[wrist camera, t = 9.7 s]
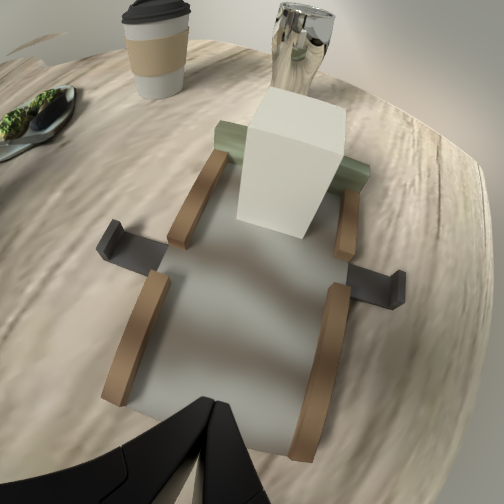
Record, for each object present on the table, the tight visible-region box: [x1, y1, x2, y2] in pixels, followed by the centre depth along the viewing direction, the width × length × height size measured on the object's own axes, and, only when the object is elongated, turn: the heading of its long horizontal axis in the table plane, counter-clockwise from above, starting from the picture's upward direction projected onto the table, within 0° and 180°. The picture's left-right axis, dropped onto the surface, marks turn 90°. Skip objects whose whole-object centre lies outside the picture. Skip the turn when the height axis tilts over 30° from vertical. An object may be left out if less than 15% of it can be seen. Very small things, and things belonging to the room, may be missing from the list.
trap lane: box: [96, 120, 406, 463], centre depth 21 cm, size 26×26×5 cm
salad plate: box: [0, 85, 76, 162], centre depth 28 cm, size 19×18×5 cm
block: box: [236, 86, 346, 239], centre depth 22 cm, size 6×6×10 cm
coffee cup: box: [122, 0, 191, 100], centre depth 28 cm, size 9×9×15 cm
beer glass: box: [268, 2, 335, 96], centre depth 29 cm, size 7×7×15 cm
